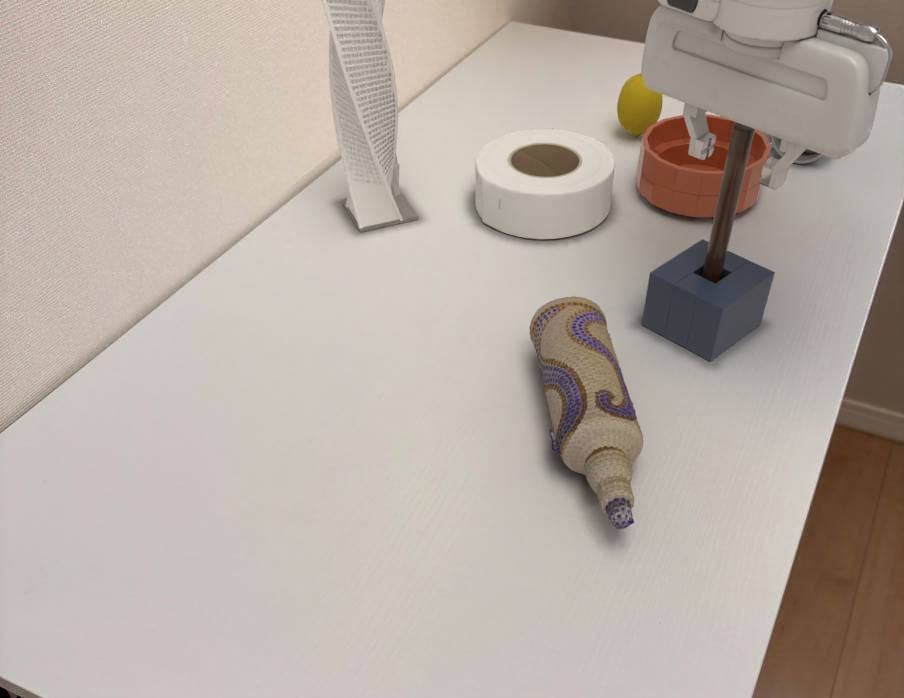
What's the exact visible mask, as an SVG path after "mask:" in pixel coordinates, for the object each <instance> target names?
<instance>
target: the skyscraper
mask: <svg viewBox="0 0 904 698" xmlns="http://www.w3.org/2000/svg"><path fill="white" fill-rule="evenodd" d="M321 2H322V5H323V8H324V12H325V16H326V20H327V24H328V26H329V36H328V37H329V39H328V76H329V77H328V78H329V91H330V101H331V110H332V117H333V123H334V129H335V135H336V141H337V147H338V151H339V155H340V161H341V165H342V169H343V173H344V178H345V181H346V185H347V189H348V191H347V196H346V198H343V199H341V204H342V206H343V207H344V209H345V210H346V212H347V214H348V215H349V217H350V218H351V220H352V221H353V223H354V225H355V226H356V228H357V229H358V231H359V233H364V232H369V231H372V230H378V229H382V228H387V227H391V226H395V225H400V224H404V223H408V222H409V223H410V222H414V221H417V220H419V215H418V214H417V212H416V210H415V209H414V207H412V205H411V204H410V202H409V201H408V200H407V198H406V197H405V196H404V194H403V193H402V190H401V187H400V163H399V161H398V156H397V145H398V132H399V131H398V128H399V103H398V88H397V80H396V73H395V68H394V63H393V58H392V53H391V49H390V47H389V42H388V39H387V38H388V37H387V35H386V31H385V28H384V25H383V23H382V22H383V18H384V9H385V3H386V0H321Z"/></svg>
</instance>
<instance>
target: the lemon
mask: <svg viewBox="0 0 904 698" xmlns="http://www.w3.org/2000/svg"><path fill="white" fill-rule="evenodd" d="M663 101H664V100H663V94H661V93H658V92H655V91H652V90H650V89H648V88H647V87H646V85H645V82H644V80H643V77H642V74H641V72H640V73H637V74H634V75H632V76H631V77H629V78H628V79H627V80H626V81H625V82H624V84H623V85H622V87H621V90H620V92H619V95H618V100H617V104H616V112H617V113H616V114H617V118H618V122H619V124H620V126H621V127H622V128H623V129H624V131H626V132H628V133H629V134H631V135H632V136H633V138H638V137H639V136H641V135H642V134H644V133H645V132H646V130H647V129H648V127H649V126H651V125H653V124H655V123H657V122H659V119H660V117H661V114H662V110H663Z"/></svg>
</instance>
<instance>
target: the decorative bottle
mask: <svg viewBox="0 0 904 698" xmlns="http://www.w3.org/2000/svg"><path fill="white" fill-rule="evenodd" d="M529 338H530V341H531V343H532V346H533V348H534V352H535V355H536V359H537V365H538V369H539V371H540V376H541V379H542V383H543V387H544V395H545V397H546V402H547V405H548V411H549V415H550V416H549V417H550V420H551V424H552V426H551V427H550V428H549V434H548V435H549V437H550V441H551V449H552V451H553V452H554V453H555V454H558V455H559V456H560V459H561V461H562V462H563V463H564V464H565V465H566V467H567V468H569V470H571V471H572V472H575V473H578V474H581V475H582V476H584V477H585V478H586V481H587V484H588V485H589V487H590V488H591V489H592V491H593V493H595V495H596V497H597V501H598V505H599V508H600V510H601V511H602V512H603V514H604V515H606V516H608V520H609V522H610V523H611V524H612V525H613V526H614V528H615V529H616V530H622V529H627V528H629V526H631V525H633V524H634V523H635V519H634V517H633V511H632V509H633V508H634V505H635V495H634V492H633V488H632V486H631V482H632V479H633V467H632V465H633V464H634V463H635V462H636V460H637V459H638V458H639V457H640V455H641V453H642V450H643V447H644V436H643V435H644V434H643V432H642V428H641V426H640V423H639V421H638V415H636V414H637V413H636V409H635V408H634V403H633V401H632V400H631V396H630V393H629V390H628V387H627V384H626V382H625V379H624V376H623V372H622V368H621V367H620V363H619V359H618V357H617V353H616V351H615V348H614V345H613V341H612V337H611V333H610V332H609V329H608V323H607V317H606V315H605V312H604V311H603V310H602V308H601V307H600V305H598V303H596V302H594V301H592V300H591V299H588V298H586V297H582V296H574V295H572V296H565V297H560V298H556V299H553V300H550V301H548V302H546V303H545V304H543V305H542V306H540V307H539V308H538V309H537V311H536V312H535V313H534V315H533V316H532V317H531V321H530V324H529ZM555 445H556V447H555Z"/></svg>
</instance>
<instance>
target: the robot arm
mask: <svg viewBox="0 0 904 698" xmlns="http://www.w3.org/2000/svg"><path fill="white" fill-rule="evenodd" d="M657 1H658V3H659V4H660V5H659V6H658V7H657V8H656V9H655V10H654V12H653V13H652V15H651V17H650V20H649V23H648V28H647V31H646V36H645V41H644V47H643V53H642V59H641V68H640V70H641V71H640V73H641V74H642V77H643V80H644V82H645V85H646V87H647V88H648V89H650V90H652V91H655V92H658V93H661V94H662V96H663V95H664V96H666V97H668V98H671V99H673V100H676V101H679V102H682V103H684V104H683V112H682V115H683V116H684V119H685V122H686V126H687V129H688V132H689V135H690V136H691V139H690V145H689V151H688V154H689V155H691V156H693V157H695V158H698V159H701V160H705V158H708V157H710V156H711V155H712V153H713V150H714V146H713V144H714V143H715V140H716V135H714V134H712V133H709V129H708V124H707V119H706V114H707V113H708V112H709V113H711V114H712V115H715V116H721V117H724V118H727V119H729V120H732V121H735V122H737V123H740V124H743V125H745V126H748V127H750V128H753V129H756V130H758V131H761V132H764V133H766V134H769V135H772V136H774V137H777V138H779V139H782V140H781V144H780V148H779V150H780V151H781V152H785V154H784V155H783V156H782V157H781V156H780V158H779V159H778V158H773V159H771V160H769V162H768V163H767V164H765V165H763V168H762V172H761V174H762V177H761V178H760V180H759V183H760V184H762V185H763V186H764V187H766V188H769V189H772V190H774V191H776V190H777V189H780V187H782V186H783V185H784V183H785V182H786V179H787V176H788V173H789V169H790V166H791V165H792V164H794V163H793V162H794V161H795V160H796V159H797V158H798V157H799V156H800V155H801V154H802V153H803V152H804V151H805V150H806V149H809V150H811V151H814V152H816V153H819V154H822V155H823V157H827V158H830V159H833V160H840V159H842V158H844V157H845V156H848V155H850V154H852V153H853V152H855V151H856V150H857V149H859V148H860V147H862V146H863V145H864V144H865V143H866V142H867V141H868V140H869V138H870V135H871V133H872V129H873V125H874V122H875V118H876V114H877V109H878V103H879V99H880V91H881V88H882V86H883V84H884V82H885V80H886V78H887V75H888V73H889V69H890V65H891V62H892V58H893V49H892V47H891V45H890V42H889V41H888V39H887V38H886V36H884V35H883V34H882V33H881V32H882V30H881V28H880V27H879V26H877V25H875V24H872V23H869V22H860V21H857V20H854V19H852V18H850V17H847V16H846V15H843V14H842V15H841V14H839V13H835V12H832V8H833V4H834V0H657ZM877 41H878V42H877Z"/></svg>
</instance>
